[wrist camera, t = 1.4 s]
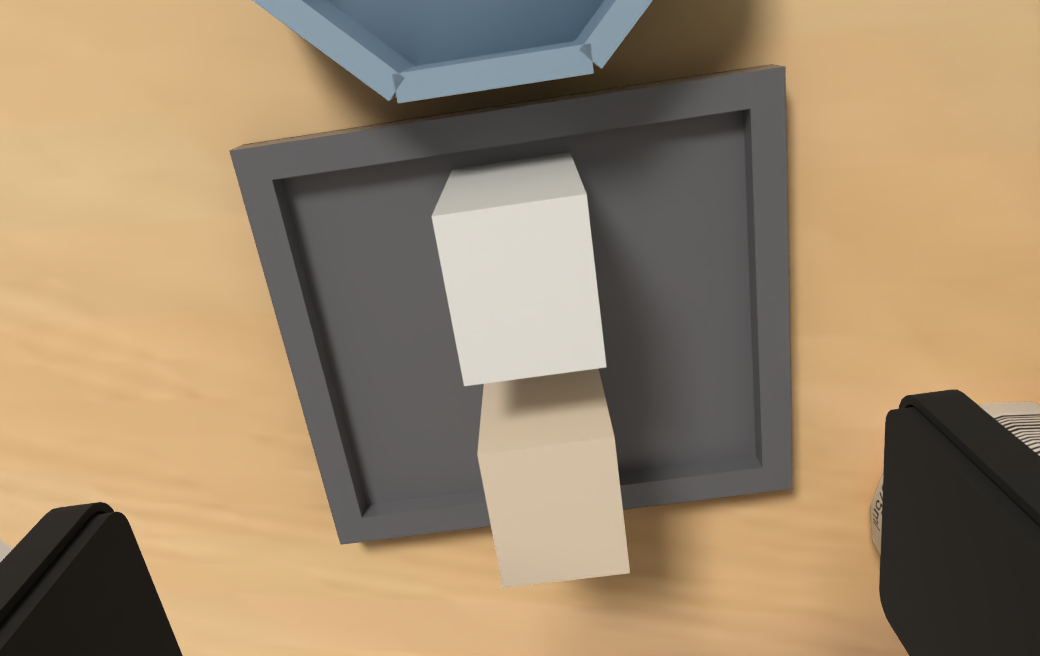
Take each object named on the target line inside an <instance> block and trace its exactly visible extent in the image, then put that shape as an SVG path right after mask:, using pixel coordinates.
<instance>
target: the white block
mask: <svg viewBox="0 0 1040 656" xmlns="http://www.w3.org/2000/svg"><path fill="white" fill-rule="evenodd" d="M432 221H433V227H434V232H435V237H436V242H437V247H438V253H439V258H440V263H441V268H442V273H443V279H444V284H445V289H446V294H447V299H448V305H449V310H450V315H451V320H452V326H453V331H454V336H455V341H456V346H457V352H458V357H459V362H460V367H461V372H462V378H463V383H464V386H470V385H478V384H485V383H493V382H500V381H508V380H515V379H523V378H530V377H538V376H545V375H553V374H560V373H568V372H575V371H583V370H590V369H598V368H605V367H606V359H605V350H604V341H603V332H602V324H601V315H600V306H599V298H598V289H597V280H596V271H595V263H594V254H593V245H592V236H591V228H590V219H589V210H588V201H587V194H586V191H585V189H584V186H583V184H582V181H581V178H580V176H579V173H578V171H577V168H576V166H575V163H574V161H573V158H572V156H571V153H570V152H568V153H561V154H554V155H547V156H541V157H534V158H527V159H520V160H513V161H507V162H500V163H493V164H486V165H480V166H473V167H466V168H459V169H453V170H452V171H451V173H450V175H449V178H448V180H447V182H446V185H445V187H444V189H443V191H442V194H441V196H440V198H439V201H438V203H437V205H436V207H435V210H434V212H433V214H432Z"/></svg>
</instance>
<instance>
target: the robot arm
mask: <svg viewBox="0 0 1040 656" xmlns="http://www.w3.org/2000/svg"><path fill="white" fill-rule="evenodd" d="M879 591H880V599H881V604H882V607H883V610H884V613H885V616H886V618H887V620H888V622H889V624H890V625H891V627H892V628H893V630H894V632H895V633H896V635H897V636H898V638H899V639H900V641H901V643H902V644H903V646H904V647H905V649H906V651H907V652H908V654H909V655H910V656H1040V456H1039V455H1038V454H1037V453H1035V452H1034V451H1033V450H1032V449H1031V448H1029V447H1028V446H1027V445H1026V444H1025V443H1023V442H1022V441H1021V440H1020V439H1019V438H1017V437H1016V436H1015V435H1014V434H1012V433H1011V432H1010V431H1009V430H1008V429H1006V428H1005V427H1004V426H1003V425H1002V424H1000V423H999V422H998V421H997V420H996V419H994V418H993V417H992V416H991V415H989V414H988V413H987V412H986V411H985V410H983V409H982V408H981V407H980V406H979V405H977V404H976V403H975V402H974V401H973V400H971V399H970V398H969V397H968V396H966V395H965V394H964V393H962V392H961V391H959V390H945V391H938V392H930V393H922V394H915V395H907V396H905V397H904V398H903V399H902V400H901V403H900V405H899V409H894V410H890V411H889V412H888V414H887V416H886V422H885V447H884V474H883V501H882V529H881V556H880V583H879ZM0 656H182V653H181V651H180V648H179V646H178V643H177V641H176V638H175V636H174V633H173V631H172V628H171V626H170V623H169V621H168V618H167V616H166V613H165V611H164V608H163V606H162V603H161V601H160V598H159V596H158V594H157V591H156V589H155V586H154V584H153V581H152V579H151V576H150V574H149V571H148V569H147V566H146V564H145V561H144V559H143V556H142V554H141V551H140V549H139V546H138V544H137V541H136V539H135V536H134V534H133V531H132V529H131V526H130V524H129V522H128V520H127V518H126V517H125V516H124V515H123V514H122V513H120V512H114V510H113V509H112V508H111V507H110V506H109V505H108V504H106V503H102V502H98V503H90V504H83V505H75V506H67V507H60V508H55V509H52V510H51V511H49V512H48V513H47V514H46V515H45V516H44V517H43V518H42V519H41V520H40V521H39V522H38V523H37V524H36V525H35V526H34V527H33V528H32V529H31V531H30V532H29V533H28V534H27V535H26V536H25V537H24V538H23V539H22V540H21V541H20V542H19V543H18V544H17V545H16V547H15V548H14V549H13V550H12V551H11V552H10V553H9V554H8V555H7V556H6V557H5V558H4V559H3V561H1V562H0Z"/></svg>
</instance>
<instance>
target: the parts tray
mask: <svg viewBox="0 0 1040 656" xmlns="http://www.w3.org/2000/svg"><path fill="white" fill-rule="evenodd" d="M568 152H570V153H571V156H572V158H573V161H574V163H575V166H576V168H577V171H578V173H579V176H580V178H581V181H582V184H583V186H584V189H585V191H586V194H587V201H588V210H589V219H590V228H591V236H592V245H593V254H594V263H595V271H596V280H597V289H598V298H599V306H600V315H601V324H602V332H603V341H604V350H605V359H606V367H605V368H599V373H600V377H601V381H602V385H603V390H604V394H605V398H606V403H607V407H608V411H609V416H610V420H611V424H612V428H613V433H614V437H615V446H616V455H617V463H618V472H619V481H620V490H621V498H622V507H623V510H624V509H633V508H641V507H649V506H657V505H665V504H673V503H681V502H689V501H697V500H705V499H713V498H722V497H730V496H738V495H746V494H754V493H762V492H770V491H778V490H786V489H792V431H791V373H790V314H789V255H788V196H787V138H786V79H785V67H784V66H779V65H773V64H771V65H765V66H758V67H752V68H745V69H738V70H732V71H725V72H719V73H712V74H705V75H699V76H692V77H686V78H679V79H672V80H666V81H659V82H653V83H646V84H639V85H633V86H626V87H620V88H613V89H607V90H600V91H593V92H587V93H580V94H574V95H567V96H560V97H554V98H547V99H541V100H534V101H527V102H521V103H514V104H508V105H501V106H494V107H488V108H481V109H475V110H468V111H461V112H455V113H448V114H442V115H435V116H428V117H422V118H415V119H409V120H402V121H395V122H389V123H382V124H376V125H369V126H363V127H356V128H349V129H343V130H336V131H330V132H323V133H316V134H310V135H303V136H297V137H290V138H283V139H277V140H270V141H264V142H257V143H250V144H244V145H241V146H239V147H237V148H235V149H232V150H230V155H231V158H232V162H233V165H234V169H235V172H236V176H237V179H238V183H239V186H240V190H241V194H242V197H243V201H244V204H245V208H246V211H247V215H248V218H249V222H250V225H251V229H252V233H253V236H254V240H255V243H256V247H257V250H258V254H259V257H260V261H261V264H262V268H263V271H264V275H265V279H266V282H267V286H268V289H269V293H270V296H271V300H272V303H273V307H274V310H275V314H276V318H277V321H278V325H279V328H280V332H281V335H282V339H283V342H284V346H285V349H286V353H287V357H288V360H289V364H290V367H291V371H292V374H293V378H294V381H295V385H296V388H297V392H298V396H299V399H300V403H301V406H302V410H303V413H304V417H305V420H306V424H307V427H308V431H309V435H310V438H311V442H312V445H313V449H314V452H315V456H316V459H317V463H318V466H319V470H320V474H321V477H322V481H323V484H324V488H325V491H326V495H327V498H328V502H329V505H330V509H331V513H332V516H333V520H334V523H335V527H336V530H337V534H338V537H339V541H340V544H349V543H358V542H366V541H374V540H382V539H390V538H398V537H406V536H414V535H422V534H430V533H438V532H446V531H455V530H463V529H471V528H479V527H487V526H491V524H490V518H489V513H488V508H487V503H486V497H485V492H484V487H483V482H482V477H481V471H480V466H479V461H478V456H477V452H478V441H479V430H480V419H481V409H482V398H483V387H484V384H478V385H470V386H464V383H463V378H462V372H461V367H460V362H459V357H458V352H457V346H456V341H455V336H454V331H453V326H452V320H451V315H450V310H449V305H448V299H447V294H446V289H445V284H444V279H443V273H442V268H441V263H440V258H439V253H438V247H437V242H436V237H435V232H434V227H433V221H432V214H433V212H434V210H435V207H436V205H437V203H438V201H439V198H440V196H441V194H442V191H443V189H444V187H445V185H446V182H447V180H448V178H449V175H450V173H451V171H452V170H453V169H459V168H466V167H473V166H480V165H486V164H493V163H500V162H507V161H513V160H520V159H527V158H534V157H541V156H547V155H554V154H561V153H568Z"/></svg>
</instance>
